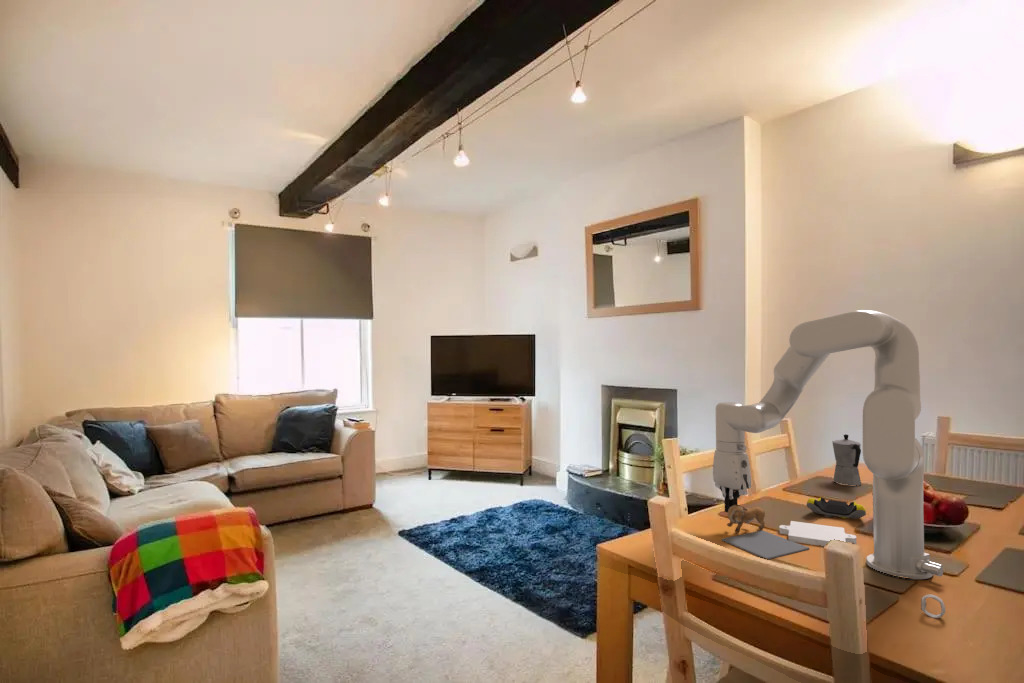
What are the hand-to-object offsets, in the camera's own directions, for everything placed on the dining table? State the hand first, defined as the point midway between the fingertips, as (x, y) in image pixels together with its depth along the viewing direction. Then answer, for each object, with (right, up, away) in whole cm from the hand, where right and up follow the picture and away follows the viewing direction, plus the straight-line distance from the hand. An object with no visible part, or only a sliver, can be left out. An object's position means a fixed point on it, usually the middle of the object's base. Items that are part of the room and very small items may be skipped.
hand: (731, 511), depth 152 cm
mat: (+4, -5, -11) cm, 13 cm away
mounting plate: (+21, -5, -6) cm, 22 cm away
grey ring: (+19, -5, -49) cm, 52 cm away
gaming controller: (+36, -5, +10) cm, 38 cm away
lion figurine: (+3, -5, -1) cm, 5 cm away
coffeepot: (+62, -5, +46) cm, 77 cm away
